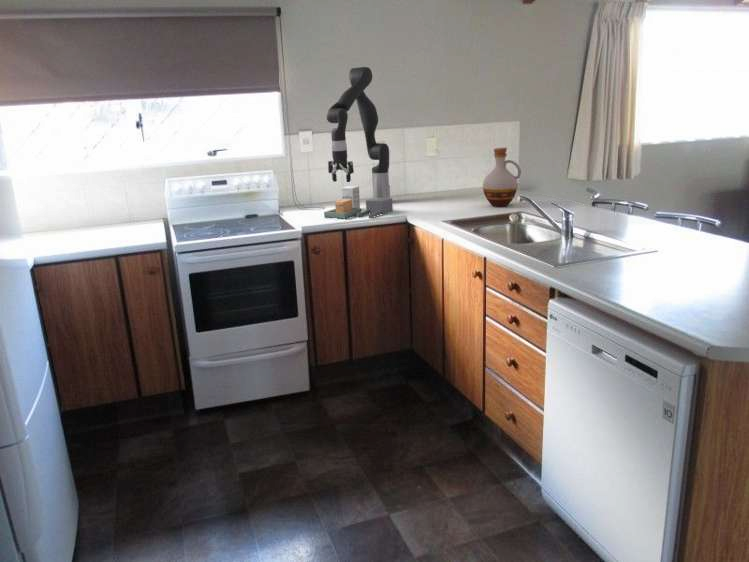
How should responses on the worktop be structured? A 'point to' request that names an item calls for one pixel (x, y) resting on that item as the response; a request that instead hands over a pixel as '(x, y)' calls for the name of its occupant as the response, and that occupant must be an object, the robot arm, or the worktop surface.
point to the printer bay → (377, 207)
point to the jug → (500, 181)
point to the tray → (341, 214)
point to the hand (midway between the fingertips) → (341, 181)
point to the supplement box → (351, 195)
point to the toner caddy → (343, 206)
